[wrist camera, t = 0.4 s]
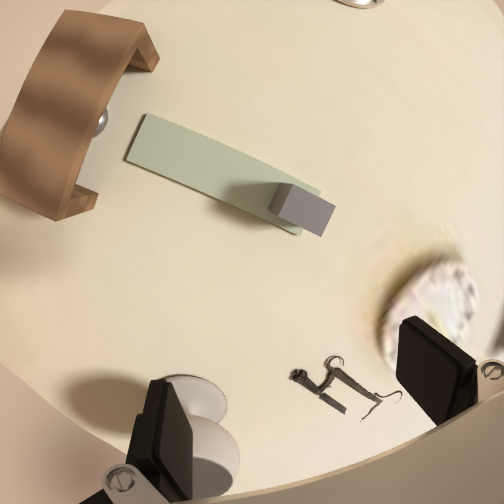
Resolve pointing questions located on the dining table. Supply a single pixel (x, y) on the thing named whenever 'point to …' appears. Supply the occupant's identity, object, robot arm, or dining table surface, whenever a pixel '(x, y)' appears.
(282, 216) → the sage green plank
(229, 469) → the chalice
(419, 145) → the dining table surface
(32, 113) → the bench
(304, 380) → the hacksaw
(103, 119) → the steel disc
